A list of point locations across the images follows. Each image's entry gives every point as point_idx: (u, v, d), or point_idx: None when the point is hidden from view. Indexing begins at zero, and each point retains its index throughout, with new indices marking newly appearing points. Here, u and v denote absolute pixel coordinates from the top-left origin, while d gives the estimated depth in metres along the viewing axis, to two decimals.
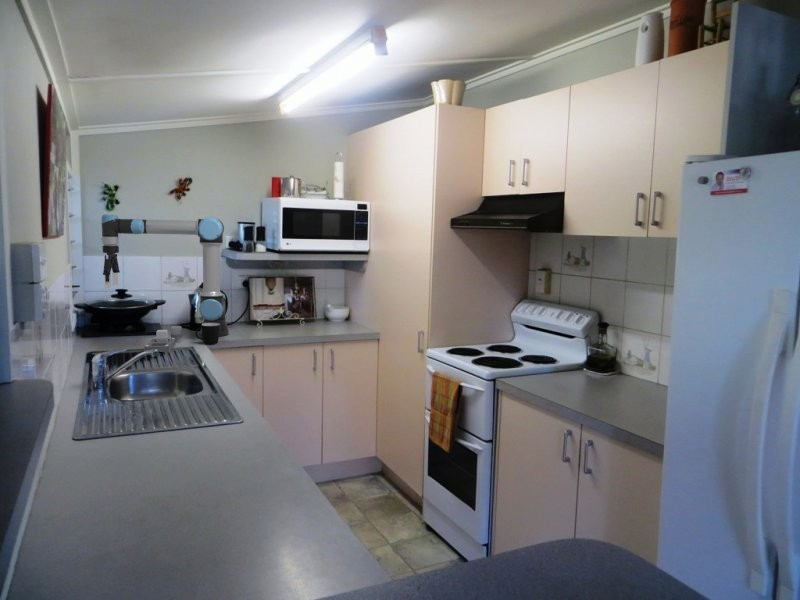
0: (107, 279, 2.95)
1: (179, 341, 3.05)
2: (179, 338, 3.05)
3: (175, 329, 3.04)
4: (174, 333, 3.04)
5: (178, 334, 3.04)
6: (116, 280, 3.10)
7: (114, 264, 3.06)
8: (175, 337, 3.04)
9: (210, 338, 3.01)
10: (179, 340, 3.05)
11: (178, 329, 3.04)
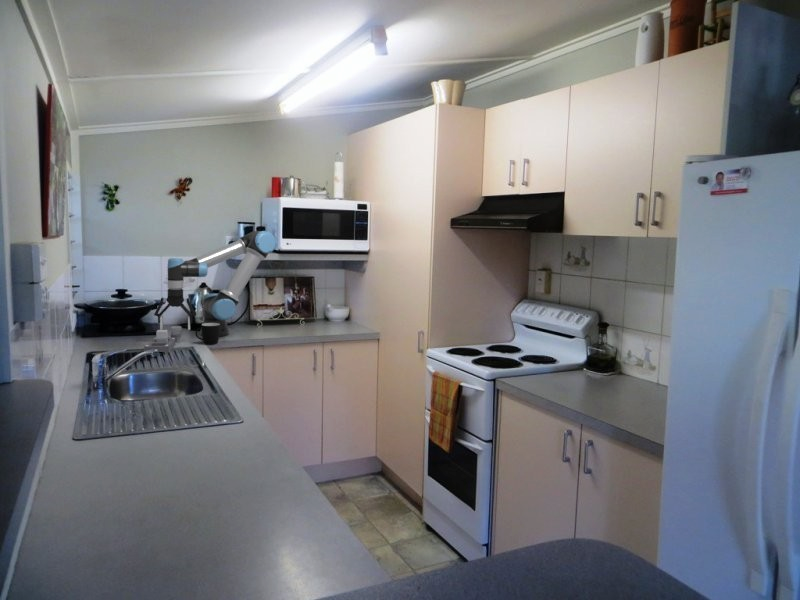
0: None
1: (179, 341, 3.05)
2: (179, 338, 3.05)
3: (175, 329, 3.04)
4: (174, 333, 3.04)
5: (178, 334, 3.04)
6: (188, 324, 3.06)
7: None
8: (175, 337, 3.04)
9: (210, 338, 3.01)
10: (179, 340, 3.05)
11: (178, 329, 3.04)
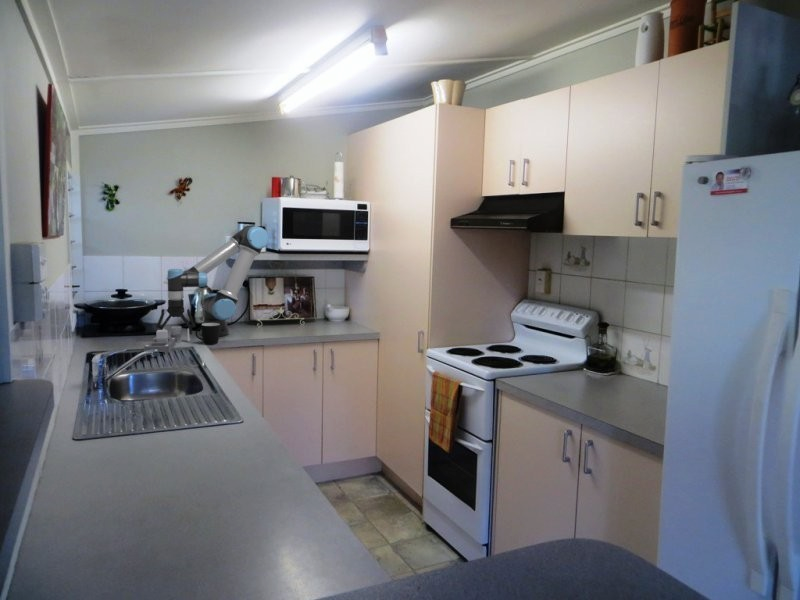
0: None
1: (179, 341, 3.05)
2: (179, 338, 3.05)
3: (175, 329, 3.04)
4: (174, 333, 3.04)
5: (178, 334, 3.04)
6: None
7: None
8: (175, 337, 3.04)
9: (210, 338, 3.01)
10: (179, 340, 3.05)
11: (178, 329, 3.04)
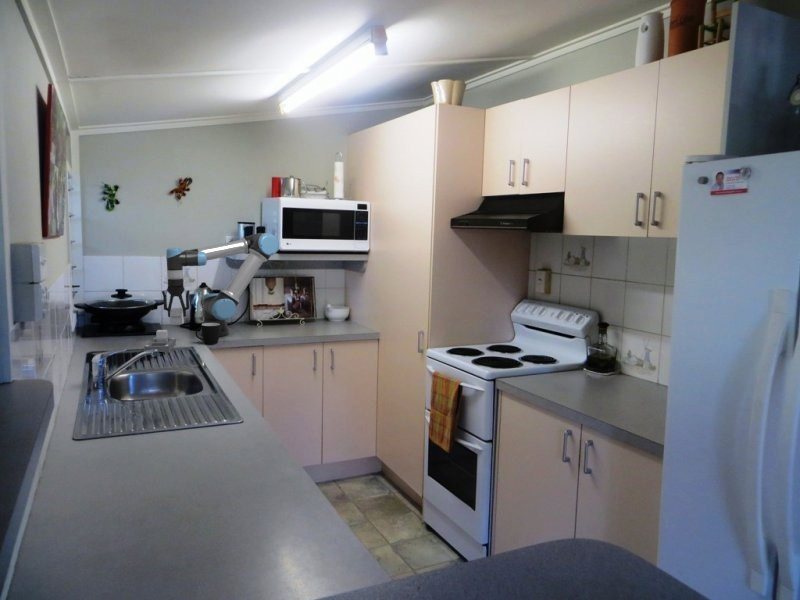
0: None
1: (180, 323, 3.04)
2: (180, 320, 3.04)
3: (175, 311, 3.03)
4: (175, 315, 3.03)
5: (179, 316, 3.03)
6: None
7: None
8: (176, 319, 3.03)
9: (210, 338, 3.01)
10: (180, 322, 3.04)
11: (178, 311, 3.03)
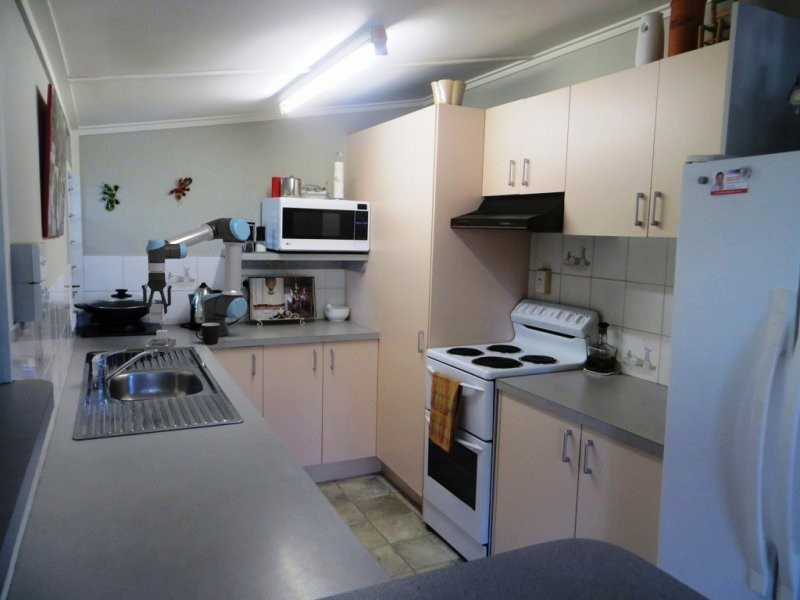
0: None
1: (160, 320, 2.82)
2: (160, 316, 2.81)
3: (156, 306, 2.80)
4: (155, 311, 2.81)
5: (159, 312, 2.81)
6: None
7: None
8: (156, 315, 2.81)
9: (210, 338, 3.01)
10: (160, 318, 2.82)
11: (159, 306, 2.81)
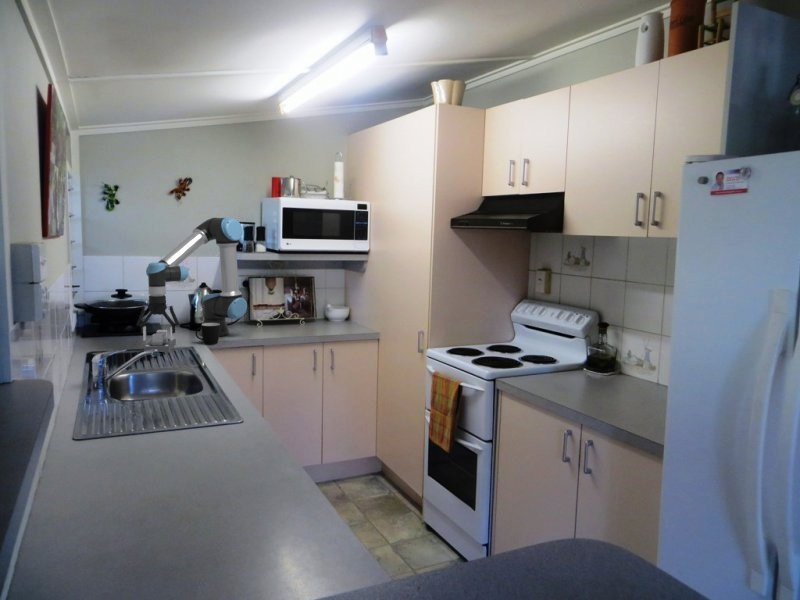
0: None
1: None
2: None
3: (156, 337, 2.82)
4: (155, 341, 2.82)
5: (160, 342, 2.83)
6: None
7: None
8: (156, 345, 2.83)
9: (210, 338, 3.01)
10: None
11: (160, 337, 2.82)
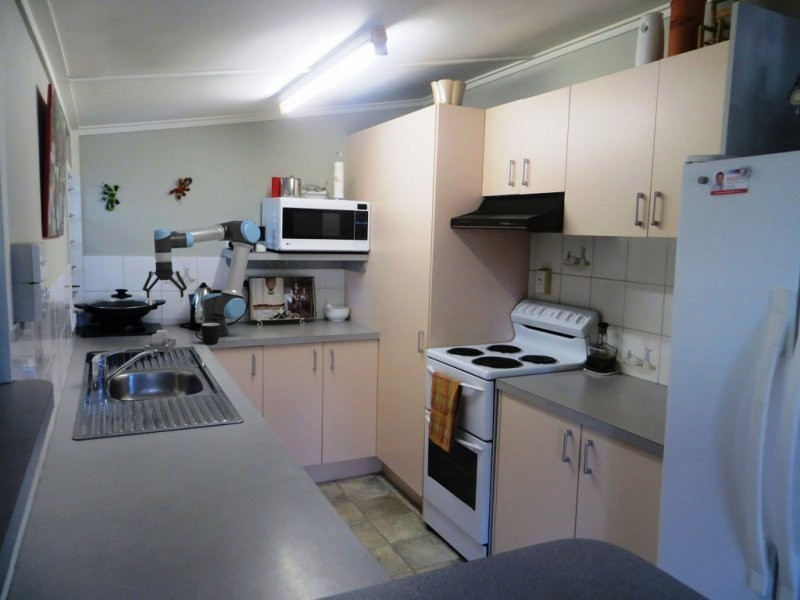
0: None
1: None
2: None
3: (156, 337, 2.82)
4: (155, 341, 2.82)
5: (160, 342, 2.83)
6: (179, 299, 2.91)
7: None
8: (156, 345, 2.83)
9: (210, 338, 3.01)
10: None
11: (160, 337, 2.82)
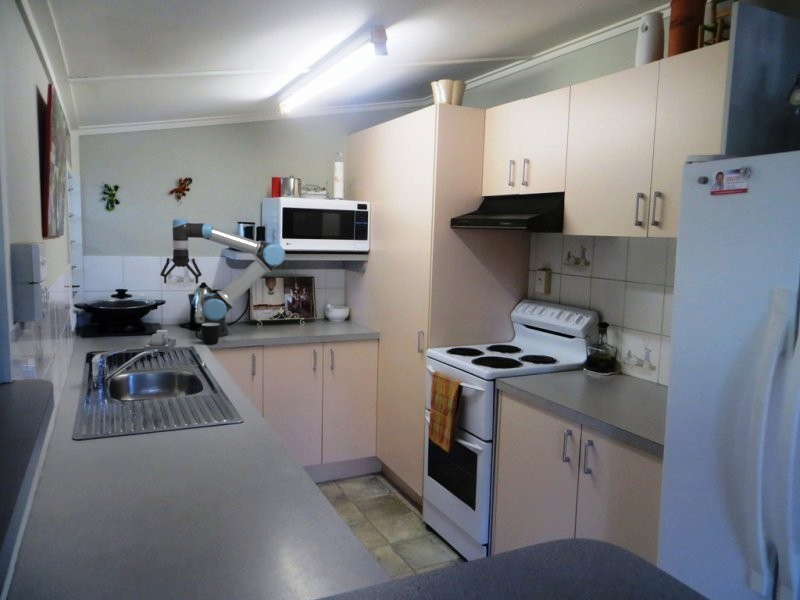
0: None
1: None
2: None
3: (156, 337, 2.82)
4: (155, 341, 2.82)
5: (160, 342, 2.83)
6: (194, 284, 3.10)
7: (188, 268, 3.08)
8: (156, 345, 2.83)
9: (210, 338, 3.01)
10: None
11: (160, 337, 2.82)
